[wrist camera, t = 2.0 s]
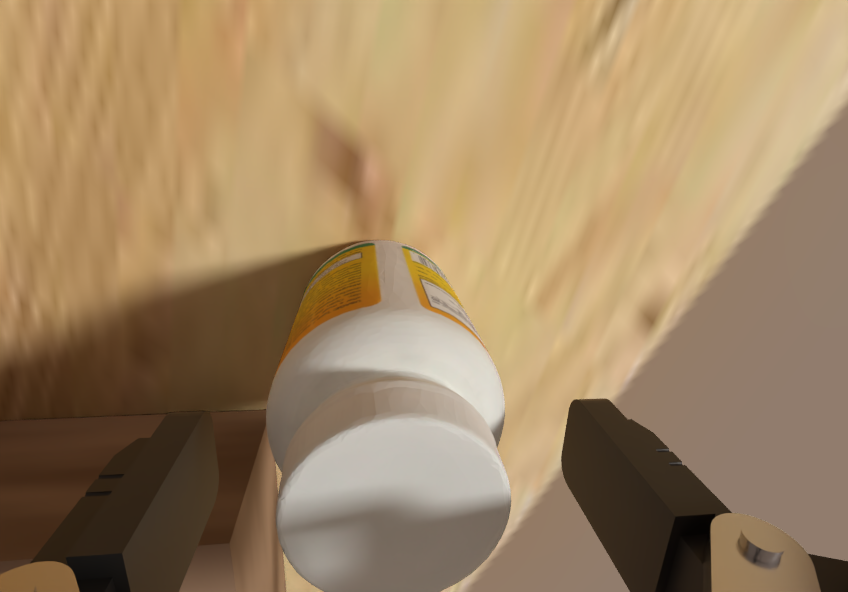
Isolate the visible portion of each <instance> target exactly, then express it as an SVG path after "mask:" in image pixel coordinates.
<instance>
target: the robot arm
mask: <svg viewBox="0 0 848 592" xmlns="http://www.w3.org/2000/svg"><path fill="white" fill-rule="evenodd" d="M561 462H562V471H563V475H564V478H565V481H566V483H567V485H568V487H569V489H570V490H571V492H572V494H573V495H574V497H575V499H576V500H577V502H578V504H579V505H580V507H581V509H582V511H583V512H584V514H585V515H586V517H587V519H588V521H589V522H590V524H591V526H592V527H593V529H594V531H595V533H596V534H597V536H598V538H599V539H600V541H601V543H602V544H603V546H604V548H605V549H606V551H607V553H608V555H609V556H610V558H611V560H612V562H613V563H614V565H615V567H616V568H617V570H618V572H619V573H620V575H621V577H622V579H623V580H624V582H625V584H626V585H627V587H628V589H629V590H630V592H848V561H843V560H837V559H832V558H827V557H822V556H817V555H811V554H808V553H807V552H806V551H805V550H804V548H803V547H802V546H801V545H800V544H799V543H798V542H797V541H795V540H794V539H793V538H792V537H791V536H789V535H788V534H787V533H785V532H784V531H782V530H781V529H779V528H777V527H775V526H773V525H771V524H770V523H768V522H765V521H763V520H761V519H758V518H755V517H752V516H749V515H744V514H738V513H732V512H731V511H730V510H728V508H727V507H726V506H725V505H724V504H723V503H722V502H721V501H720V500H719V499H718V498H717V497H716V496H715V495H714V494H713V493H712V492H711V491H710V490H709V489H708V488H707V487H706V486H705V485H704V484H703V483H702V482H701V481H700V480H699V479H698V478H697V477H696V476H695V475H694V474H693V473H692V472H691V471H690V470H689V469H688V468H687V467H686V466H685V465H682V461H681V460H679V458H678V457H677V456H676V455H675V454H674V453H673V452H669V448H668V447H667V446H666V445H665V444H664V443H663V442H662V441H661V440H660V439H659V438H658V437H657V436H656V435H655V434H654V433H653V432H651V431H650V430H648V429H646V428H645V427H643V426H641V425H640V424H638V423H636V422H635V421H633V420H632V419H631V420H627V418H626V417H625V416H624V415H623V414H622V413H621V412H620V411H619V410H618V409H617V408H616V407H615V406H614V405H613V404H612V402H611V401H609V400H608V399H579V400H574V401H572V403H571V404H570V407H569V413H568V419H567V425H566V431H565V437H564V444H563V450H562V457H561ZM218 486H219V469H218V461H217V453H216V445H215V437H214V429H213V421H212V416H211V414H210V412H208V411H191V412H170V413H168V414H167V415H166V416H165V417H164V419H163V420H162V422H161V423H160V425H159V426H158V427H157V429H156V430H155V432H154V433H153V434H152V436H151V437H150V438H138V439H137V440H135V441H134V442H132V443H131V444H130V445H128V446H127V447H125V448H124V449H123V450H121V451H120V452H118V453H117V454H116V455H114V456H113V458H112V459H111V460H110V462H109V463H108V464H107V465H106V467H105V468H104V469H103V470H102V472H101V473H100V474H99V478H98V479H95V481H94V482H93V483H92V485H91V486H90V487H89V488H88V490H87V491H86V492H85V497H81V499H80V500H79V501H78V502H77V504H76V505H75V506H74V508H73V509H72V510H71V511H70V513H69V514H68V515H67V516H66V518H65V519H64V520H63V522H62V523H61V524H60V525H59V527H58V528H57V529H56V531H55V532H54V533H53V534H52V536H51V537H50V538H49V539H48V541H47V542H46V543H45V545H44V546H43V547H42V548H41V550H40V551H39V552H38V554H37V555H36V556H35V557H34V559H33V560H32V561H31V562H30V564H26V565H23V566H20V567H17V568H14V569H12V570H9V571H7V572H5V573H3V574H1V575H0V592H179V590H180V588H181V585H182V583H183V580H184V578H185V576H186V573H187V571H188V568H189V566H190V563H191V561H192V558H193V556H194V553H195V551H196V548H197V546H198V543H199V541H200V538H201V536H202V534H203V531H204V529H205V526H206V524H207V521H208V519H209V516H210V514H211V511H212V509H213V506H214V504H215V501H216V497H217V492H218Z"/></svg>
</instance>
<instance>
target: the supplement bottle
mask: <svg viewBox="0 0 848 592" xmlns="http://www.w3.org/2000/svg"><path fill="white" fill-rule="evenodd" d="M504 416H505V402H504V394H503V388H502V384H501V380H500V377H499V374H498V372H497V369H496V367H495V365H494V363H493V361H492V359H491V357H490V355H489V353H488V351H487V349H486V347H485V345H484V343H483V341H482V340H481V338H480V336H479V335H478V333H477V331H476V329H475V327H474V325H473V324H472V322H471V320H470V318H469V317H468V315H467V313H466V312H465V310H464V308H463V306H462V305H461V303H460V301H459V299H458V297H457V295H456V293H455V292H454V290H453V288H452V286H451V285H450V283H449V281H448V280H447V278H446V277H445V275H444V273H443V272H442V271H441V269H440V268H439V267H438V266H437V265H436V264H435V263H434V262H433V261H432V260H431V259H430V258H429V257H428V256H426V255H425V254H424V253H422V252H421V251H419V250H417V249H415V248H413V247H411V246H409V245H406V244H403V243H399V242H395V241H388V240H372V241H364V242H360V243H356V244H353V245H351V246H349V247H347V248H345V249H343V250H341V251H339V252H338V253H336V254H335V255H333V256H332V257H330V258H329V259H328V260H327V261H325V262H324V263H323V264H322V265H321V266H320V267H319V268H318V270H317V271H316V272H315V273H314V275H313V276H312V278H311V280H310V281H309V283H308V285H307V287H306V289H305V292H304V295H303V298H302V301H301V304H300V306H299V309H298V312H297V316H296V318H295V321H294V324H293V326H292V330H291V332H290V335H289V338H288V341H287V343H286V346H285V349H284V352H283V354H282V357H281V360H280V363H279V365H278V368H277V371H276V373H275V376H274V379H273V383H272V386H271V389H270V393H269V397H268V402H267V409H266V428H267V436H268V441H269V445H270V448H271V451H272V454H273V457H274V459H275V461H276V463H277V465H278V467H279V469H280V470H281V472H282V477H281V482H280V488H279V494H278V500H277V506H276V528H277V533H278V539H279V543H280V545H281V547H282V549H283V551H284V553H285V555H286V557H287V559H288V561H289V562H290V564H291V565H292V566H293V568H294V569H295V570H296V572H297V573H298V574H299V575H300V576H302V577H303V578H304V579H305V580H307V581H308V582H309V583H311V584H312V585H314V586H315V587H317V588H319V589H320V590H322V591H324V592H440V591H442V590H444V589H446V588H448V587H450V586H452V585H454V584H456V583H458V582H459V581H461V580H463V579H464V578H465V577H467V576H468V575H470V574H471V573H472V572H473V571H475V570H476V569H477V568H478V567H479V566H480V565H481V564H482V563H483V562H484V561H485V560H486V559H487V558H488V557H489V555H490V554H491V552H492V551H493V550H494V549H495V547H496V545H497V544H498V542H499V540H500V539H501V537H502V535H503V532H504V530H505V528H506V525H507V522H508V519H509V514H510V507H511V491H510V485H509V480H508V476H507V473H506V470H505V468H504V465H503V463H502V460H501V458H500V455H499V453H498V450H497V447H498V444H499V441H500V437H501V434H502V429H503V424H504Z"/></svg>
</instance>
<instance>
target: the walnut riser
mask: <svg viewBox="0 0 848 592" xmlns="http://www.w3.org/2000/svg"><path fill="white" fill-rule="evenodd" d="M210 414H211V416H212V421H213V429H214V437H215V445H216V453H217V461H218V469H219V486H218V492H217V497H216V501H215V504H214V506H213V509H212V511H211V514H210V516H209V519H208V521H207V524H206V526H205V529H204V531H203V534H202V536H201V538H200V541H199V543H198V546H197V548H196V551H195V553H194V556H193V558H192V561H191V563H190V566H189V568H188V571H187V573H186V576H185V578H184V580H183V583H182V585H181V588H180V590H179V592H286V584H285V573H284V561H283V549H282V547H281V545H280V543H279V539H278V533H277V528H276V506H277V500H278V490H277V478H276V466H275V459H274V457H273V454H272V451H271V448H270V445H269V441H268V436H267V428H266V410H253V411H228V412H210ZM166 415H167V414H155V415H131V416H107V417H82V418H58V419H34V420H10V421H0V575H1V574H3V573H5V572H7V571H9V570H12V569H14V568H17V567H20V566H23V565H26V564H30V562H31V561H32V560H33V559H34V557H35V556H36V555H37V554H38V552H39V551H40V550H41V548H42V547H43V546H44V545H45V543H46V542H47V541H48V539H49V538H50V537H51V536H52V534H53V533H54V532H55V531H56V529H57V528H58V527H59V525H60V524H61V523H62V522H63V520H64V519H65V518H66V516H67V515H68V514H69V513H70V511H71V510H72V509H73V508H74V506H75V505H76V504H77V502H78V501H79V500H80V499H81V497H85V492H86V491H87V490H88V488H89V487H90V486H91V485H92V483H93V482H94V481H95V479H98V478H99V474H100V473H101V472H102V470H103V469H104V468H105V467H106V465H107V464H108V463H109V462H110V460H111V459H112V458H113V456H114V455H116V454H117V453H118V452H120V451H121V450H123V449H124V448H125V447H127V446H128V445H130V444H131V443H132V442H134V441H135V440H137V439H138V438H150V437H151V436H152V434H153V433H154V432H155V430H156V429H157V427H158V426H159V425H160V423H161V422H162V420H163V419H164V417H165V416H166Z"/></svg>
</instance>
